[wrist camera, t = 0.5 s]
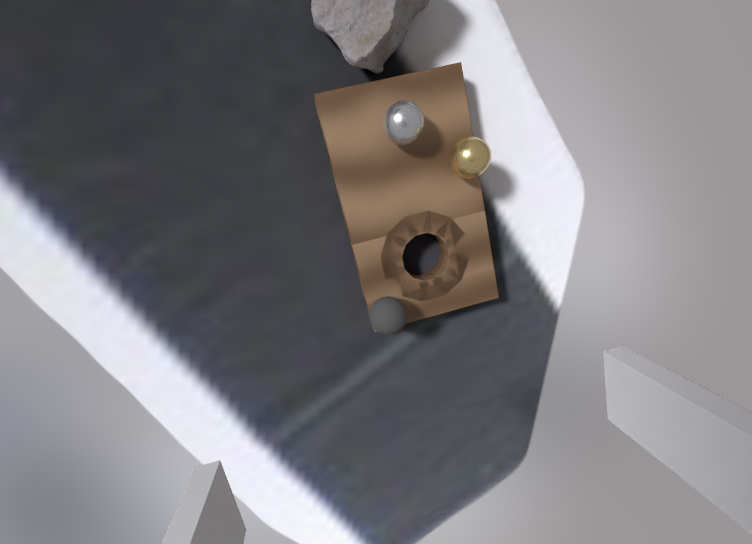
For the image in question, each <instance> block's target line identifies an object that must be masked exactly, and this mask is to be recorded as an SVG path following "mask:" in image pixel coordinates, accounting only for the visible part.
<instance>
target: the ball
mask: <svg viewBox="0 0 752 544" xmlns="http://www.w3.org/2000/svg"><path fill="white" fill-rule="evenodd" d="M424 124H425V120H424V115H423V112H422V111H421V109H420V108H419V106H418V105H416V104H415V103H413V102H411V101H408V100H400V101H397V102H394V103H393V104H391V105H390V106H389V107H388V108H387V110H386V111H385V113H384V116H383V121H382V126H383V131H384V133H385V135H386V137H387V138H388V139H389V140H390V141H391V142H393V143H395V144H397V145H409V144H411V143H413V142H415V141H416V140H417V139H418V138H419V137H420V136H421V134H422V132H423V129H424Z"/></svg>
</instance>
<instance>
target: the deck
mask: <svg viewBox="0 0 752 544" xmlns="http://www.w3.org/2000/svg"><path fill="white" fill-rule="evenodd" d="M314 97H315V104H316V108H317V112H318V116H319V120H320V124H321V128H322V132H323V136H324V140H325V144H326V148H327V152H328V156H329V159H330V163H331V167H332V171H333V175H334V179H335V183H336V187H337V191H338V195H339V199H340V203H341V207H342V211H343V215H344V219H345V223H346V227H347V231H348V234H349V238H350V242H351V246H352V250H353V254H354V258H355V262H356V266H357V270H358V274H359V278H360V282H361V286H362V290H363V294H364V298H365V302H366V306H367V309H368V313H369V311H370V308H371V306H372V304H373V303H374V302H375V301H376V300H378V299H379V298H382V297H386V296H390V297H394V298H397V299H398V300H400V301H401V302H402V303H403V305H404V306H405V308H406V311H407V320H406V323H410V322H414V321H417V320H421V319H424V318H428V317H431V316H435V315H439V314H442V313H446V312H449V311H453V310H456V309H460V308H464V307H467V306H471V305H474V304H478V303H481V302H485V301H489V300H492V299H496V298H499V296H498V290H497V284H496V277H495V271H494V265H493V259H492V253H491V246H490V240H489V234H488V228H487V221H486V215H485V209H484V203H483V196H482V190H481V184H480V178H479V176H478V177H475V178H471V179H468V178H462V177H460V176H458V175H457V174H456V173H455V172H454V171H453V169H452V167H451V165H450V153H451V150H452V148H453V147H454V145H455V144H456V143H457V142H458V141H460V140H461V139H463V138H466V137H472V136H473V134H472V128H471V122H470V115H469V109H468V103H467V97H466V91H465V84H464V78H463V72H462V66H461V62H460V63H455V64H451V65H446V66H442V67H437V68H432V69H428V70H423V71H419V72H414V73H409V74H405V75H400V76H395V77H391V78H386V79H382V80H377V81H372V82H368V83H363V84H359V85H354V86H349V87H345V88H340V89H336V90H331V91H326V92H322V93H317V94H314ZM400 100H408V101H411V102H413V103H415V104H416V105H418V106H419V108H420V109H421V111H422V112H423V115H424V120H425V124H424V129H423V132H422V134H421V136H420V137H419V138H418V139H417V140H416V141H415V142H413V143H411V144H409V145H397V144H395V143H393V142H391V141H390V140H389V139H388V138H387V137H386V135H385V133H384V131H383V126H382V121H383V116H384V113H385V111H386V110H387V108H388V107H389V106H390V105H391V104H393V103H394V102H397V101H400ZM424 233H430V234H432V235H433V236H434V237H435V238H436V239H437V240H438V241H439V245H440V250H441V255H440V258H439V261H438V264H437V265H436V266H435V267H434V268H433V269H432V270H431V271H430V272H428V273H424V274H421V275H415V274H411V273H408V272H407V271H406V270H405V269H404V264H403V260H402V255H403V252H404V249H405V245H406V244H407V243H408V242H409V241H410V240H411V239H412V238H413V237H414V236H416V235H420V234H424ZM406 323H405V324H406ZM372 327H373V326H372ZM373 330H374V332H378V331H376V330H375V329H374V328H373Z"/></svg>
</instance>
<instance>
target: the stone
mask: <svg viewBox="0 0 752 544" xmlns="http://www.w3.org/2000/svg"><path fill="white" fill-rule="evenodd" d="M428 2H429V0H312V2H311V6H312V8H311V11H312V16H313V20H314V25H315V27H316V28H317V29H318V30H320V31H322V32H324V33H326V34H327V35H328V36H330V37H331V38H332V40H333V41H334V42H335V43H336V44H337V45H338V47H339V48H340V49H341V51H342V54H343V56H344V58H345V59H346V61H348V63H349V64H350V65H352V66H354V67H358V68H361V69H369V70H371V71H372V72H374V73H376V74H378V73H380V72H382V71H383V64H384V63H385V62H386V60H387V59H388V58H389V57H390V55H391V54H392V53H393V52H394V51H395V50H396V49H397V48H398V46H400V45H401V43H402V41H403V38H404V35H405V33H406V32H407V30H408V28H409V26H410V23H411V20H412V17H413V16H414V15H415V13H416V12H418V11H419V10H423V9H424V8H425V7H426V6H427V5H428Z"/></svg>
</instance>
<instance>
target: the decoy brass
mask: <svg viewBox="0 0 752 544" xmlns="http://www.w3.org/2000/svg"><path fill="white" fill-rule="evenodd" d="M490 161H491V151H490V148H489V146H488V144H487V143H486V142H485V141H484V140H482V139H481V138H478V137H473V136H472V137H466V138H463V139H461V140H460V141H458V142H457V143H456V144H455V145H454V147H453V148H452V150H451V153H450V165H451V167H452V169H453V171H454V172H455V173H456V174H457V175H458V176H460V177H462V178H468V179H471V178H475V177H478V176H480V175H481V174H483V173H484V172H485V171H486V170H487V168H488V167H489V164H490Z"/></svg>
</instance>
